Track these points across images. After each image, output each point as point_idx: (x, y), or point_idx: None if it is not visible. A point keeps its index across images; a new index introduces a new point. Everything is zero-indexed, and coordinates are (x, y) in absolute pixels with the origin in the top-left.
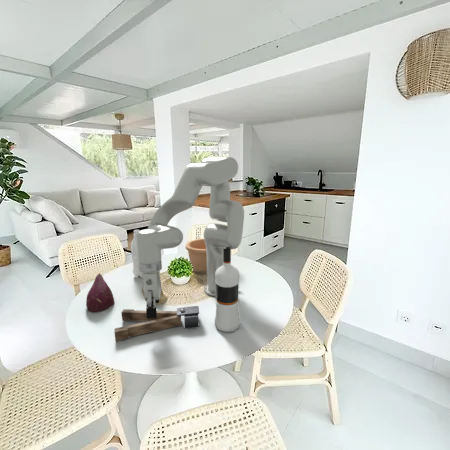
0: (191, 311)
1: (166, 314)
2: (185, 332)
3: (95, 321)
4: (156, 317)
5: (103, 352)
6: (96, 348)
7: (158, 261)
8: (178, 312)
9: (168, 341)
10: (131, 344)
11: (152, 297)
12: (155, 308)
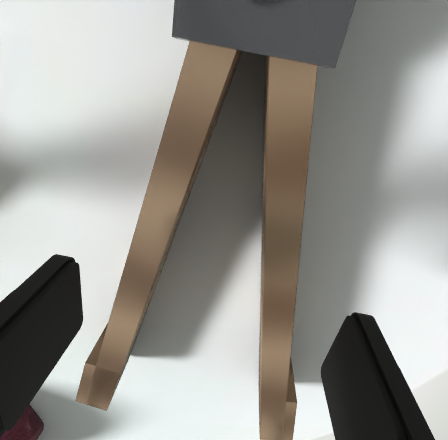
0: None
1: (196, 164)
2: (415, 2)
3: (108, 425)
4: (372, 316)
5: None
6: None
7: None
8: (290, 32)
9: (436, 164)
10: None
11: (37, 372)
12: (428, 437)
